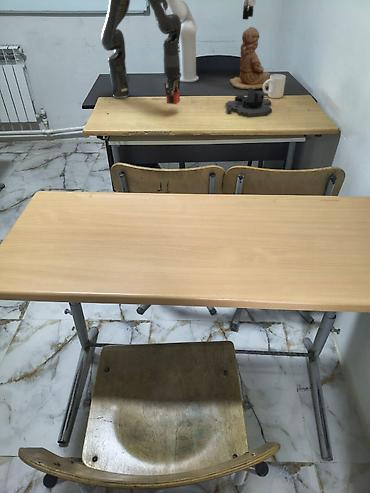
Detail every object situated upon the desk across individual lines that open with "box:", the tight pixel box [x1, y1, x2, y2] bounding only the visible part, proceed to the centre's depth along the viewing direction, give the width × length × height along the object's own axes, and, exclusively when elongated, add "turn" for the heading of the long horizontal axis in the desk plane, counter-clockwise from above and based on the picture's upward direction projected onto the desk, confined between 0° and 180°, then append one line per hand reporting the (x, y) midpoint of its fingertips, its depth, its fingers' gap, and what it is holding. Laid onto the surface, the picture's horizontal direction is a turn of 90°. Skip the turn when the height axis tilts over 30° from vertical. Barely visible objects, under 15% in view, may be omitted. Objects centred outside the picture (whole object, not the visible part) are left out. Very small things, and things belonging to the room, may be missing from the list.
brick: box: [165, 91, 181, 105], centre depth 179 cm, size 5×5×4 cm
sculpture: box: [229, 26, 271, 90], centre depth 208 cm, size 27×24×30 cm
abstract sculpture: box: [224, 88, 273, 118], centre depth 181 cm, size 25×9×20 cm
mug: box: [262, 73, 287, 99], centre depth 195 cm, size 12×8×10 cm
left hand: (173, 101), depth 180 cm, fingers closed on brick, 5 cm apart
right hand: (247, 17), depth 204 cm, fingers open, 9 cm apart
